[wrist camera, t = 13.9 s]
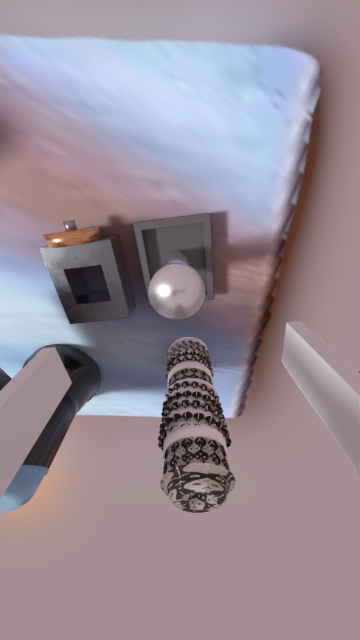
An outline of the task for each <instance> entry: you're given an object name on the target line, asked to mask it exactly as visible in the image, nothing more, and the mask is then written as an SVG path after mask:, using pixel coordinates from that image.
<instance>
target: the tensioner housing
mask: <svg viewBox="0 0 360 640" xmlns="http://www.w3.org/2000/svg"><path fill="white" fill-rule="evenodd" d="M63 223H64V226H65V229H66V231H64V232H57V233H51V234H45V235H43V237H44V239H45V242H46V244H47V246H46V247H42V248H39V249H40V251H41V254H42V256H43V259H44V261H45V264H46V266H47V269H48V271H49V273H50V276H51V278H52V281H53V283H54V286H55V288H56V291H57V293H58V295H59V298H60V300H61V303H62V305H63V308H64V310H65V313H66V315H67V317H68V320H69V322H70V324H75V323H84V322H93V321H103V320H112V319H121V318H130V316H131V314H132V312H133V310H134V308H135V301H134V297H133V292H132V288H131V284H130V280H129V275H128V271H127V267H126V262H125V258H124V254H123V249H122V245H121V241H120V237H119V236H112V237H104V238H101V235H100V231H99V227H95V228H86V229H78V230H77V228H76V224H75V221H74V220H73V221H65V222H63ZM95 265H101V266H102V270H103V273H104V277H105V280H106V284H107V287H108V291H107V292H99V293H90V294H89V293H88V290H87V287H86V284H85V281H84V278H83V275H82V272H81V269H80V267H87V266H95Z"/></svg>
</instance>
